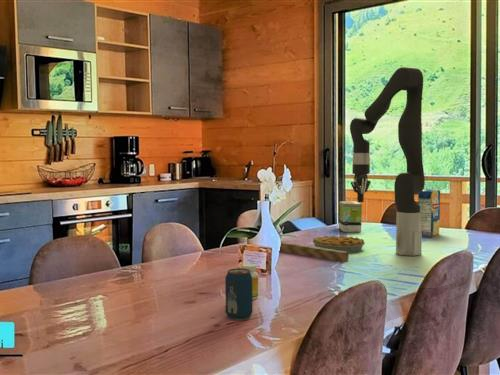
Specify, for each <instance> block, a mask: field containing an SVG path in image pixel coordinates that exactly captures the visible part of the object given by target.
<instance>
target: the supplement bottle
mask: <svg viewBox="0 0 500 375" xmlns="http://www.w3.org/2000/svg"><path fill="white" fill-rule="evenodd" d="M241 268H243V269H248V270H250V273H251V275H252V278H253V301H254V300H257V299H258V298H259V274H258V272H257V271H256V270H257V264H255V263H243V264H241Z"/></svg>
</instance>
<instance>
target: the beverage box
mask: <svg viewBox="0 0 500 375" xmlns="http://www.w3.org/2000/svg"><path fill="white" fill-rule="evenodd" d="M417 195H418V197H417V199H418V201H417V204H419V205H420V231H422V237H430V238H431V236H432V237H435V236H438V235H440V218H441V190H440V189H423V191H422V192H421V193H419V194H417ZM437 234H438V235H437ZM434 235H435V236H434Z"/></svg>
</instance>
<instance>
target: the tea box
mask: <svg viewBox="0 0 500 375" xmlns="http://www.w3.org/2000/svg"><path fill="white" fill-rule="evenodd" d="M338 203H339V205H338V229H340V230H341V231H342V232H343V233H344V232H345V233H347V232H348V233H349V232H350V233H362V221H363V220H362V216H363V214H362V213H363V212H362V211H363V203H362V202H358V201H355V200H354V201H351V200H348V201H347V200H346V201H344V200H342V201H339V202H338Z"/></svg>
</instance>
